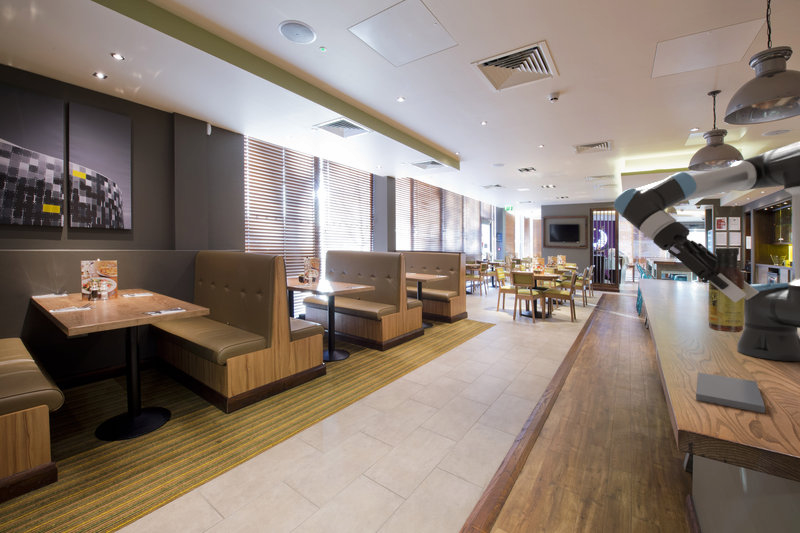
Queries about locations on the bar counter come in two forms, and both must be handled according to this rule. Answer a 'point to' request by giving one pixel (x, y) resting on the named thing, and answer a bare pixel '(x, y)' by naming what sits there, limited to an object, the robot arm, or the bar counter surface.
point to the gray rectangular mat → (729, 392)
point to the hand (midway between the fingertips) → (746, 297)
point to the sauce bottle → (721, 307)
